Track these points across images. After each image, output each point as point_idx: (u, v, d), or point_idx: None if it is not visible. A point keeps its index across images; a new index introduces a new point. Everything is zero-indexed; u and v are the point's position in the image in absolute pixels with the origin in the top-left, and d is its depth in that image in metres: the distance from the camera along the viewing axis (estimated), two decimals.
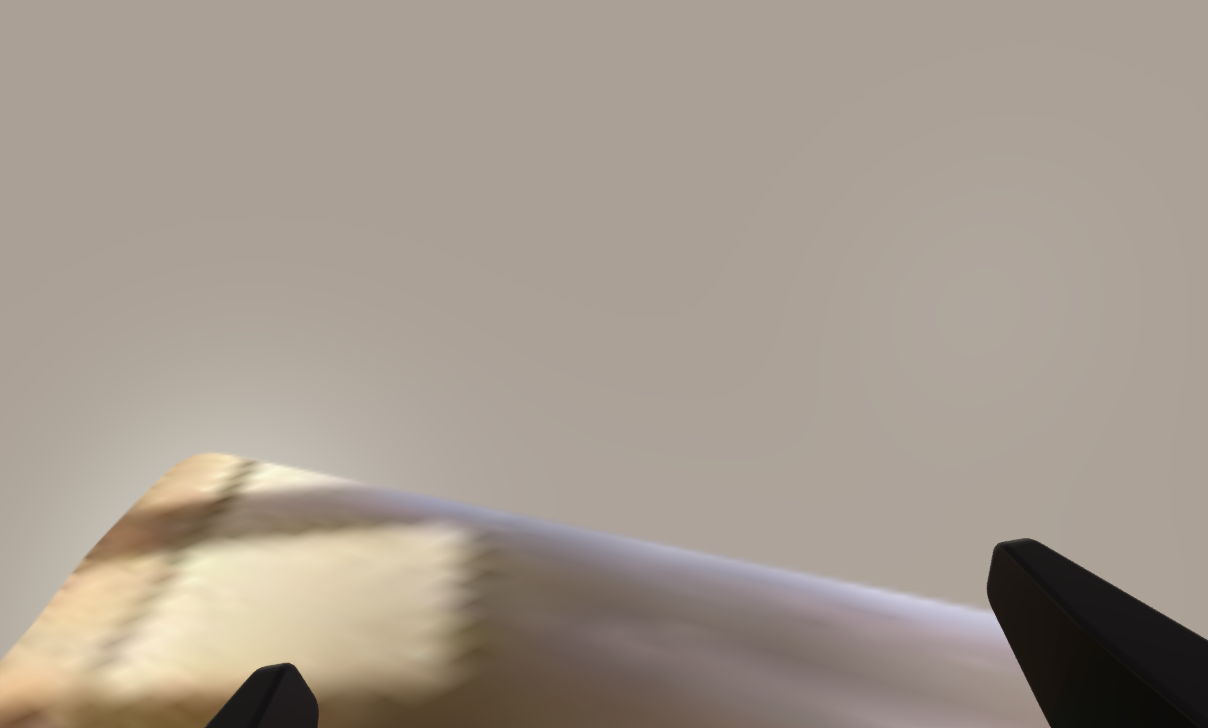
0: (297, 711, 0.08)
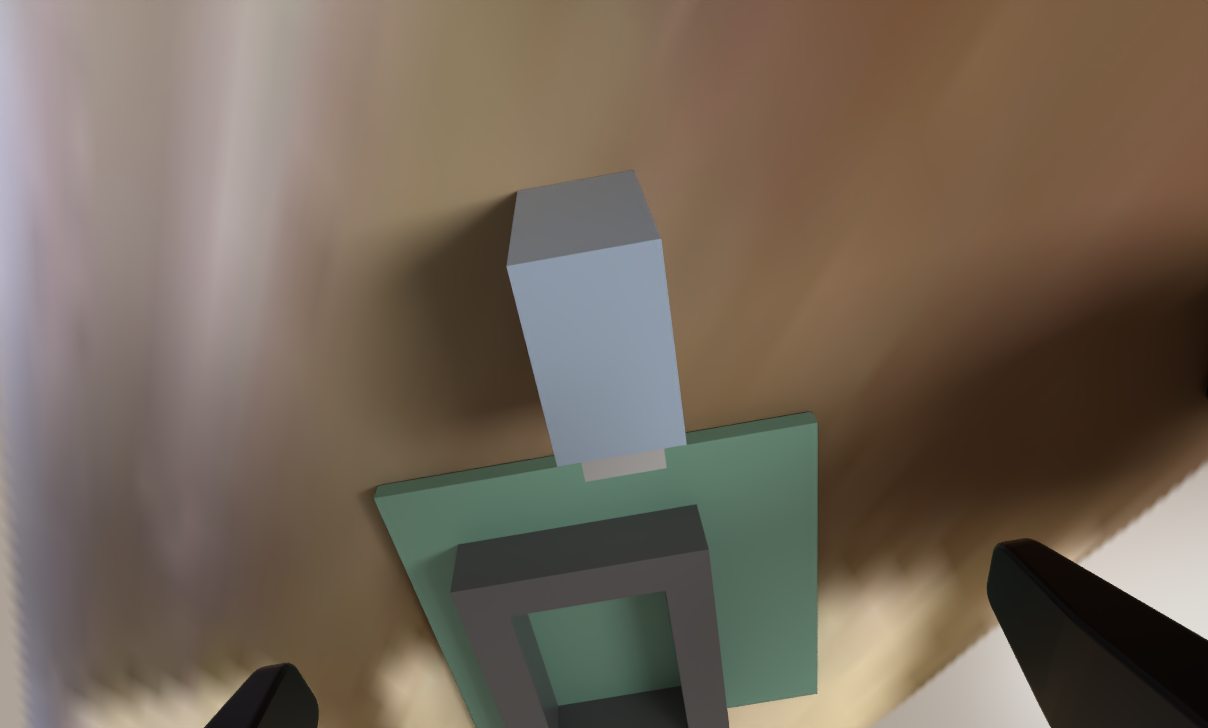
0: (297, 711, 0.08)
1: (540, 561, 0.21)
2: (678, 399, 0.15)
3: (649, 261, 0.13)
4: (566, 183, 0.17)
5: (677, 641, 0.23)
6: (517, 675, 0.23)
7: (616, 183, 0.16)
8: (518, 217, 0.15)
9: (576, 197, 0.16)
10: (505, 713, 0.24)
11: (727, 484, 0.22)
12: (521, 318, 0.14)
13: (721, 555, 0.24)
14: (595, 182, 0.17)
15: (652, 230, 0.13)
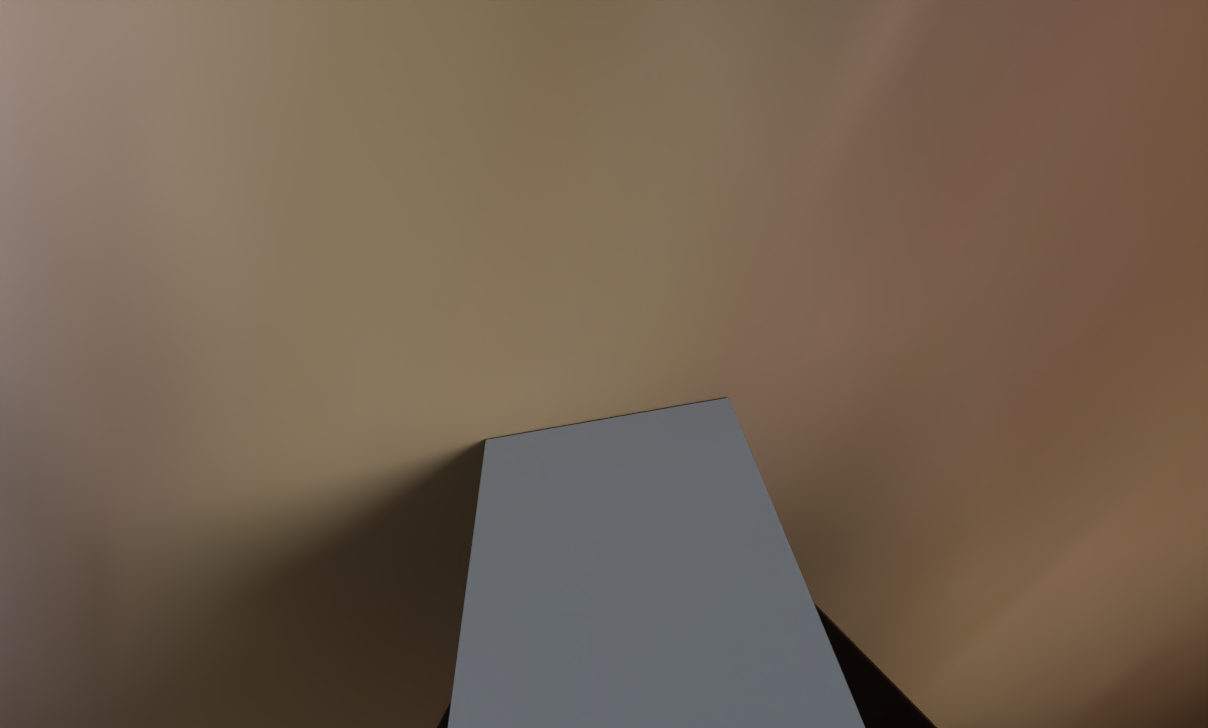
0: None
1: None
2: None
3: None
4: (588, 427, 0.08)
5: None
6: None
7: (700, 449, 0.07)
8: (479, 574, 0.06)
9: (615, 499, 0.07)
10: None
11: None
12: None
13: None
14: (651, 432, 0.08)
15: None
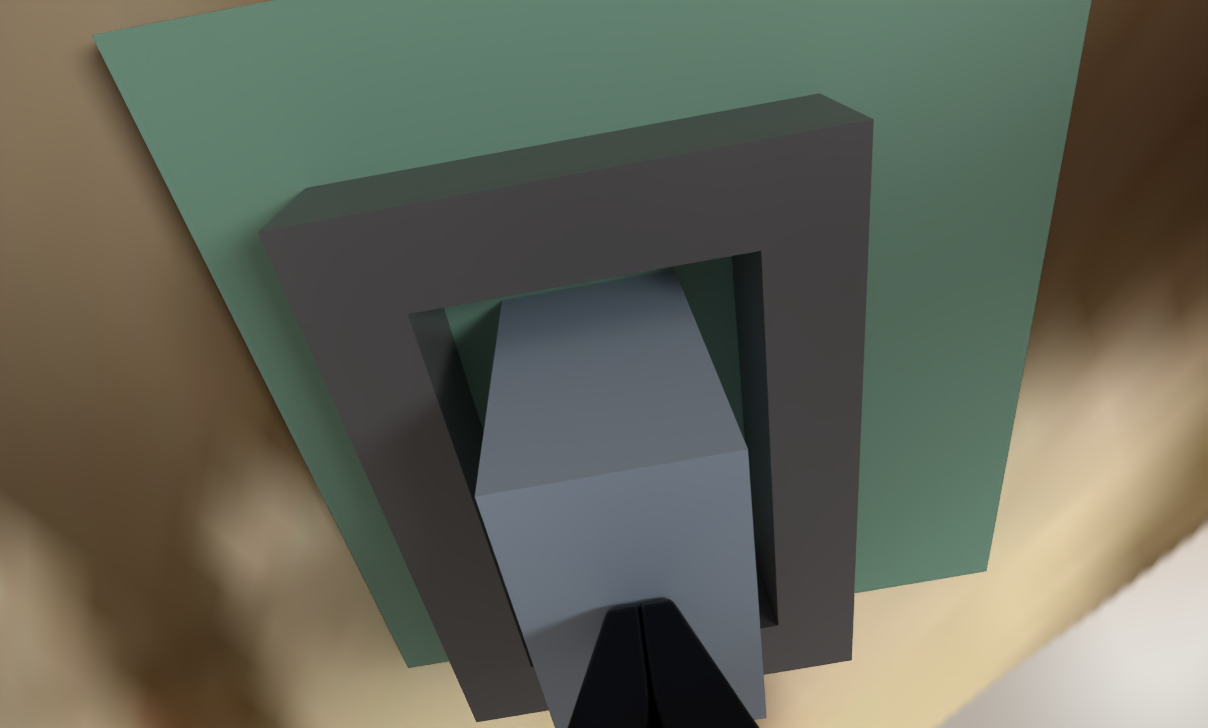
0: None
1: (475, 179, 0.09)
2: (758, 664, 0.09)
3: (724, 482, 0.08)
4: (574, 290, 0.12)
5: (774, 400, 0.11)
6: (437, 478, 0.11)
7: (651, 296, 0.11)
8: (501, 362, 0.10)
9: (591, 323, 0.10)
10: (420, 571, 0.12)
11: (890, 35, 0.10)
12: (503, 568, 0.08)
13: None
14: (617, 290, 0.11)
15: (728, 423, 0.08)
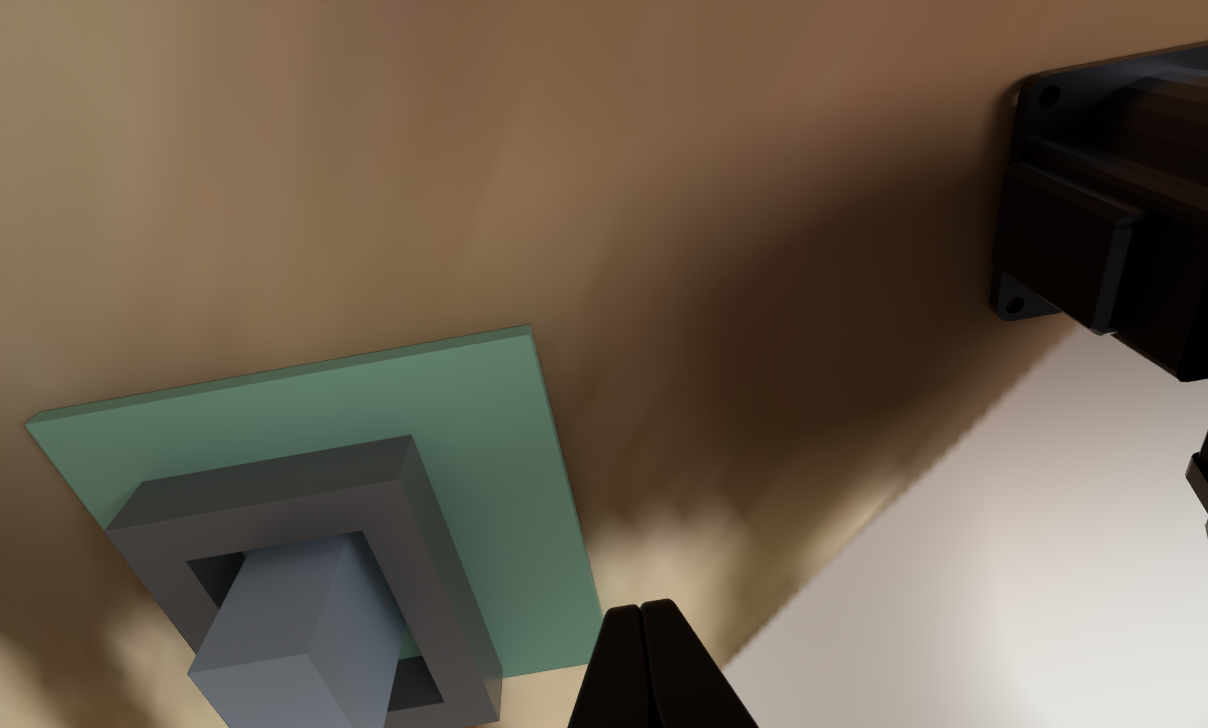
0: None
1: (216, 496, 0.18)
2: None
3: (301, 665, 0.17)
4: None
5: (395, 592, 0.20)
6: None
7: None
8: (237, 582, 0.19)
9: (292, 554, 0.20)
10: None
11: (441, 410, 0.19)
12: (210, 700, 0.17)
13: (458, 497, 0.21)
14: None
15: (308, 636, 0.17)
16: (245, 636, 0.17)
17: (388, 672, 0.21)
